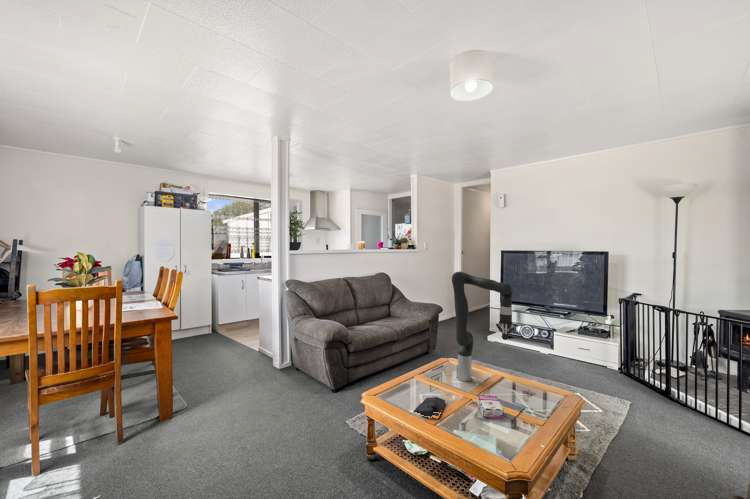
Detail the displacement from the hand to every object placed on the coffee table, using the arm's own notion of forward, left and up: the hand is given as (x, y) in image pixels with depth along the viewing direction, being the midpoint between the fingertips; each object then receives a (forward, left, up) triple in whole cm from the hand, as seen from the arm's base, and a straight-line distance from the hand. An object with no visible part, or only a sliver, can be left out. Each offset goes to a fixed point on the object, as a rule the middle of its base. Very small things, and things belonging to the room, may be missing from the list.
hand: (505, 339), depth 215 cm
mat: (+12, -29, -32) cm, 45 cm away
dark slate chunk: (-19, -58, -33) cm, 69 cm away
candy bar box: (+2, -31, -29) cm, 42 cm away
